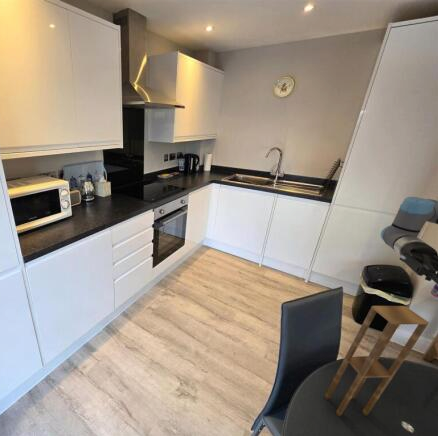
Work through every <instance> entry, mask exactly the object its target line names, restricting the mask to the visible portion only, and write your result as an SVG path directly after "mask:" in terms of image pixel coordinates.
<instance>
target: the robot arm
mask: <svg viewBox="0 0 438 436" xmlns="http://www.w3.org/2000/svg"><path fill="white" fill-rule="evenodd" d="M426 222H428V223H431V224H436V225H438V200H436V199H431V198H423V197H419V196H407V197H405V198H404V199H403V201H402V203H401V204H400V205H399V208H398V210H397V213H396V215H395V217H394V218H393V221H392V223H391V224H390V225H387V226H386V227H384V228H383V229H382V230H381V231H380V238H381V239H382V241H383V242H384V243H385V245H387V246H389V247H390V248H391V249H392V250H394V252H396V253H397V254H398V255H399V256H400V257H399V260H400V261H401V262H403V263H404V264H405V265H407V266H408V268H410V269H411V270H412V271H413V272H414V273H415V274H416V275H417V276H420V277H423V276H425V277H424V280H425V281H428V282H431V281H433V282H434V283H435V284H436V283H437V284H438V251H437V250H436V248H434V247H433V246H431V245H429V244H428V243H426V242H425V241H424V240H422V239H420V238H419V237H418V236H419V235H420V234H421V231H422V229H423V228H424V226H425V224H426Z"/></svg>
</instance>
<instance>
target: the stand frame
mask: <svg viewBox="0 0 438 436" xmlns="http://www.w3.org/2000/svg"><path fill="white" fill-rule="evenodd" d="M376 314H378V312H376V311H375V310H374V309H373V308H371V307H370V309H369V311H368V313H367V314H366V317H365V319H364V320H363V322H362V324H361V326H360V328H359V329H358V331H357V334H356V336H355V337H354V339H353V340H352V343H351V345H350V347H349V348H348V350H347V352H346V354H345V356H344V358H343V360H342V362H341V364H340V366H339V367H338V369H337V372H336V373H335V375H334V376H333V379H332V380H331V382H330V385H329V386H328V388H327V390H326V392H325V393H324V399H326V400H330V398H331V397H332V395H333V393H334V392H335V389H336V387H337V386H338V384H339V382H340V381H341V379H342V376H343V375H344V373H345V371H346V370H347V367H348V365H350V366H351V367H352V368H353V369H354V371H356V373H357V375H356V377H355V378H354V380H353V381H352V383H351V385H350V387H349V388H348V390H347V392H346V394H345V395H344V397H343V399H342V401H341V402H340V403H339V406H338V407H337V409H336V411H335V414H336V416H337V417H342V415H343V413H344V411H345V410H346V408H347V406H348V405H349V403H350V402H351V400H354V399H355V398H356V396H357V395H358V393H359V392H360V390H361V389H362V388H363V385H364V383H365V382H366V381H367V379H371V378H372V379H373V378H376V379H377V378H381V379H382V380H381V382H380V383H379V385H378V386H377V388H376V389H375V390H374V393H372V395H371V397H370V398H369V400H368V401H367V403H366V405H365V406H364V407H363V409H362V410H361V413H362V414H363V416H369V413H370V412H371V411H372V409H373V408H374V406H375V405H376V403H377V401H378V400H379V399H380V397H381V396H382V395H383V392H385V390H386V388H387V387H388V385H389V383H390V382H391V381H392V380H393V378H394V377H395V375H396V374H397V372H398V370H399V369H400V367H402V364H403V363H404V361H405V360H406V358H407V357H408V355H409V354H410V352H411V351H412V349H414V346H415V345H416V343H417V342H418V340H419V339H420V337H421V336H422V335H423V333H424V331H425V330H426V329H427V328H428V326H429V324H417V326H416V328H415V329H414V331H413V332H412V334H411V335H410V337H409V338H408V339H407V341H406V343H405V344H404V346H403V348H402V349H401V350H400V352H399V353H398V355H397V357H396V358H395V360H394V362H393V363H392V364H391V366H390V368H389V369H388V370H387V368H386V367H385V366H384V365H383V364H381V362H379V359H380V357H381V356H382V354H383V353H384V351H385V349H386V348H387V346H388V344H389V342H390V341H391V340H392V338H393V336H394V334H395V333H396V332H397V329H398V328H399V326H400V324H391V323H390V322H389V321H387V323H386V325H385V327H384V328H383V330H382V332H381V333H380V335H379V337H378V338H377V341H376V342H375V344H374V345H373V347H372V349H371V351H370V353H369V354H368V356H354V355H355V353H356V351H357V349H358V348H359V346H360V344H361V342H362V340H363V338H364V336H365V335H366V333H367V331H368V329H369V328H370V325H371V323H372V322H373V320H374V318H375V317H376Z"/></svg>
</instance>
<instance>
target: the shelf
mask: <svg viewBox="0 0 438 436" xmlns="http://www.w3.org/2000/svg"><path fill="white" fill-rule="evenodd" d="M371 308H373V309H374V310H375V311H376V312H377V314H379V315H380V316H381V317H382V318H384V319H385V320H386V321H387V322H390V323H391V324H399V325H418V324H428V325H429V324H430V322H429V321H428V320H426V319H425V318H423V317H422V316H420V315H419V314H417V313H416V312H415V311H413V310H412V309H410V308H409V307H407V306H406V305H372V306H371V307H370V309H371Z"/></svg>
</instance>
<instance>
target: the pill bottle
mask: <svg viewBox="0 0 438 436" xmlns="http://www.w3.org/2000/svg"><path fill="white" fill-rule="evenodd" d="M429 295H430V297H432V299H434V300H436V301H438V284H437V283H435V284H434V286H433V287H432V289H431V291H430V292H429Z"/></svg>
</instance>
